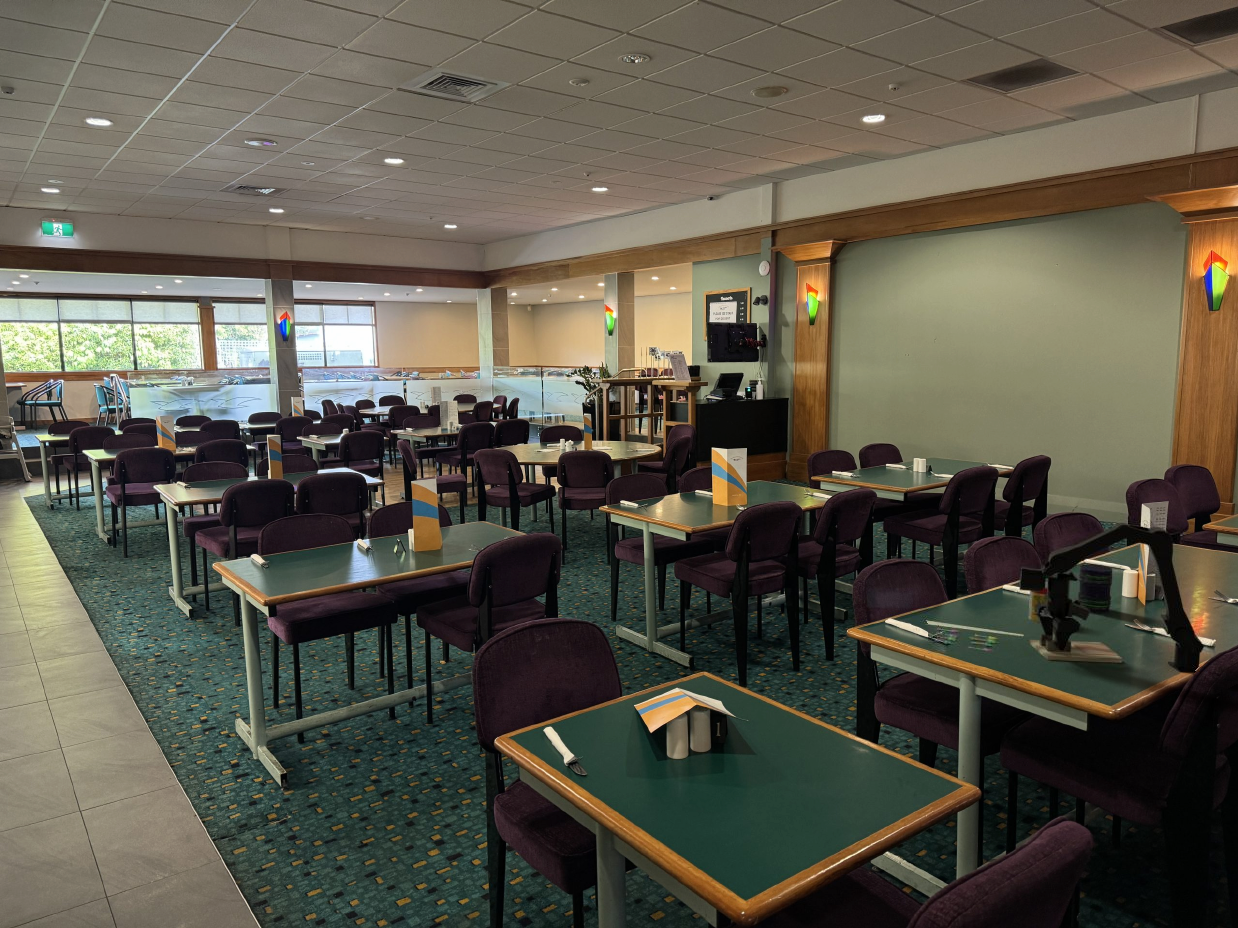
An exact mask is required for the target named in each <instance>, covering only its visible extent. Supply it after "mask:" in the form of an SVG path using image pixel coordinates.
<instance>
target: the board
mask: <svg viewBox="0 0 1238 928" xmlns="http://www.w3.org/2000/svg"><path fill="white" fill-rule="evenodd" d="M1053 640H1056V638H1055V634H1053ZM1069 641H1070V642H1071V652H1051V651H1047V650H1045V649H1046V646H1041V645H1040V644H1039V639H1030V640H1029V644H1030V645H1031V646H1032V647H1033V648H1034V649H1035V650H1036V651H1037V652H1038V653H1040V654H1041V656H1043V657H1044V658H1045V659H1046V660H1047V661H1048V660H1049V661H1069V662H1070V661H1073V662H1074V661H1075V662H1095V663H1116V664H1117V663H1120V664H1122V663H1123V658H1122V657H1121V656H1119V654H1118V653H1116V652H1115V651H1114V650H1112V649H1111V648H1110V647H1108V646H1106V645H1105V644H1103V643H1102V642H1099V641H1077V640H1076V641H1075V640H1073V641H1072V640H1069Z"/></svg>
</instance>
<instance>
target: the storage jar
mask: <svg viewBox="0 0 1238 928" xmlns="http://www.w3.org/2000/svg"><path fill="white" fill-rule="evenodd" d="M1078 576H1079V577H1078V582H1079V592H1078V595H1077V600H1078V601H1080V604H1081V605H1082V606H1084V607H1086V608H1087V609H1089V610H1090V614H1097V615H1106V614H1109V613H1110V611H1111V610H1110V608H1111V604H1112V601H1111V600H1112V596H1111V587H1112V584H1113V568H1112V567H1109V566H1106V565H1103V564H1102V565H1101V564H1090V563H1089V564H1081V565H1080V568H1079V575H1078Z"/></svg>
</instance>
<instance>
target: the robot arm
mask: <svg viewBox="0 0 1238 928" xmlns="http://www.w3.org/2000/svg"><path fill="white" fill-rule="evenodd" d="M1124 540H1129V541H1133V542H1136V543H1139V544H1142V545H1146V546H1147V547H1148V550H1149V551H1150V553H1151V555H1152V557H1153V559H1154V561H1155V565H1156V570H1157V575H1158V578H1159V582H1160V587H1161V591H1162V594H1163V599H1164V602H1165V603H1164V604H1165V607H1166V609H1165V614H1160V615H1159V616H1160V618H1161V620H1162V622H1163V626H1162V628H1163V630H1164V632H1165V633H1166V635H1169V636H1170V638H1171V639H1172V641H1174V642H1175V645H1174V653H1173V654H1174V656H1173V661H1167V664H1168V665H1169V666H1171V667H1173V668H1174V669H1176V670H1177V671H1178V672H1183V673H1195V672H1194V671H1195V670H1196V669H1197V668H1198V667H1200V657H1201V653H1202V652H1203V650H1204V648H1205V645H1204V644H1203V642H1202V641H1201V639H1199V637H1198V636H1197V635H1196V632H1195V630H1194V627H1193V626H1192V623H1191V621H1190V619H1189V617H1188V615H1187V613H1186V612H1185V609H1184V605H1183V601H1182V596H1181V593H1180V589H1179V584H1178V581H1177V575H1176V573H1175V572H1176V571H1175V568H1174V567H1175V566H1174V563H1173V557H1174V539H1173V537H1172V535H1171V534H1170V533H1169V532H1168V531H1167V530H1166V529H1164V528H1163V527H1160V526H1153V527H1145V526H1141V525H1135V524H1129V523H1126V522H1119V523H1117V524H1116V525H1115V526H1112V527H1111V528H1109V529H1106V530H1105V531H1103V532H1100V533H1099V534H1096V535H1094V536H1092V537H1089V539H1086V540H1084V541H1082V542H1080V543H1078V544H1075V545H1071V546H1070V545H1069V546H1065V547H1061V548H1059V549H1055V550H1053V551H1051V552H1050V553H1049V556H1048V560H1047V561H1045V563H1044V564H1043V565H1042V566H1041V567H1040V568H1032V567H1031V568H1030V567H1025V566H1022V567H1021V571H1020V576H1019V591H1024V592H1025V591H1027V592H1030V591H1036V592H1041V590H1043V589H1045V583H1046V582H1047V583H1048V588H1047V594H1045V595H1044V598H1046V599H1047V603H1038V604H1037V605H1035V611H1034V612H1035V613H1037V614H1036V616H1037V617H1038V619H1039V622H1040V623H1039V622H1038V623H1039V624H1040V626H1041V628H1042V631H1043V634H1044V635H1055V638H1056V641H1057V645H1058V648H1059V650H1060V651H1063V650H1064V648H1065V646H1066V644H1067V642H1068V640H1070V638H1071V636H1072V635H1073V634H1075V633H1078V632H1081V630H1082V629H1081V628H1082V625H1081V623H1080V622H1079V621H1078V620H1076V619H1075V618H1074V617H1073V616H1075V617H1077V618H1079V619H1081V620H1083V621H1087V620H1088V617H1089V615H1090V614H1091V613H1090V610H1089V609H1087V608H1086V607H1084V606H1082V605H1081V604H1080V601H1078V599H1076V598H1070V588H1071V587H1070V586H1071V581H1072V582H1077V581H1078V582H1079V578H1078V576H1077V575H1075V574H1074V573H1073V570H1072V569H1074V567H1077V565H1079V564H1080V563H1081V562H1082V561H1084V559H1086V558H1088V557H1090V556H1092V555H1093V554H1096V553H1098V552H1100V551H1102V550H1105V549H1107V548H1108V547H1111V546H1113V545H1115V544H1117V543H1119V542H1122V541H1124ZM1046 580H1047V581H1046Z"/></svg>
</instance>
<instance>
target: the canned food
mask: <svg viewBox="0 0 1238 928" xmlns="http://www.w3.org/2000/svg"><path fill="white" fill-rule="evenodd" d="M1047 588H1048V581H1046V583H1045V589H1043V590H1041V592H1036V591H1029V603H1028V605H1029V606H1028V620H1030V621H1031V622H1035V623H1039V624H1040V622H1039V619H1038V617H1037V616H1036V614H1037V613H1035V612H1034V611H1035V605H1037V604H1038V603H1047V599H1046V598H1044V595H1045V594H1047Z"/></svg>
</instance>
